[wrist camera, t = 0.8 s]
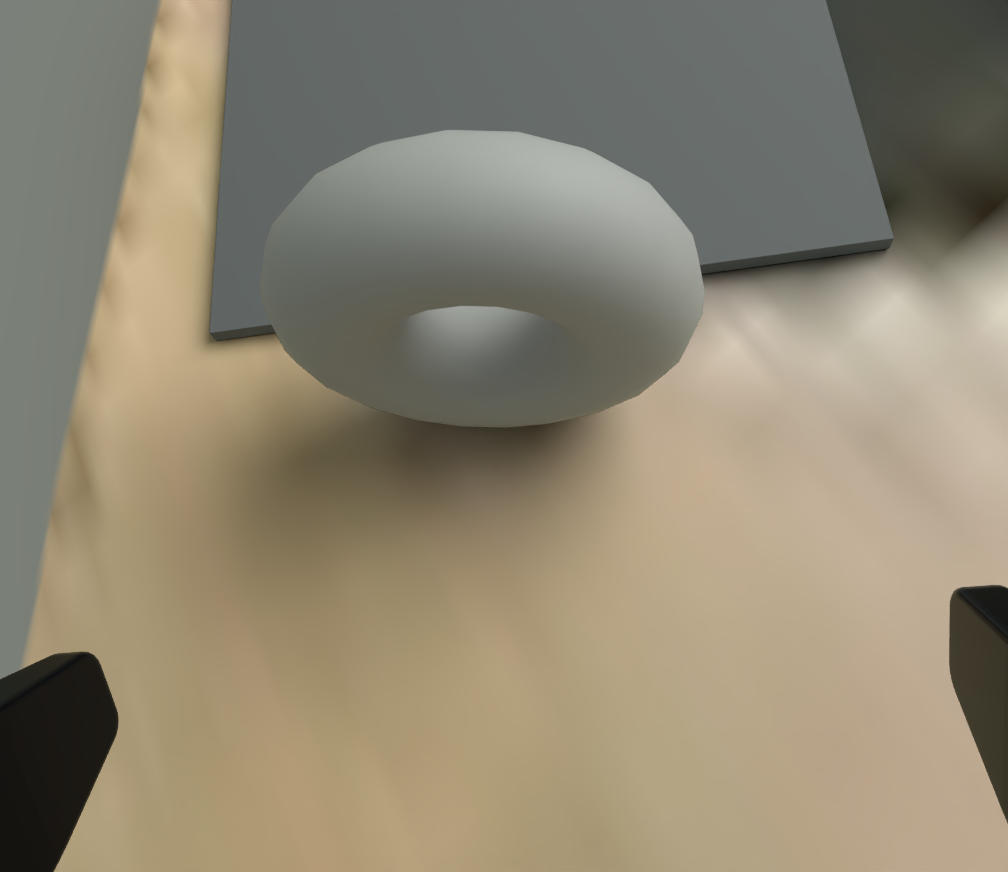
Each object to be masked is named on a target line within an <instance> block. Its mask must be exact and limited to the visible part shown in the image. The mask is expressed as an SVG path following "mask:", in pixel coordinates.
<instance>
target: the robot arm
mask: <svg viewBox="0 0 1008 872" xmlns="http://www.w3.org/2000/svg"><path fill="white" fill-rule="evenodd" d="M949 666H950V674H951V679H952V683H953V687H954V689H955V692H956V695H957V697H958V700H959V702H960V705H961V707H962V710H963V712H964V715H965V718H966V720H967V723H968V725H969V728H970V730H971V733H972V735H973V738H974V740H975V743H976V745H977V748H978V750H979V753H980V755H981V758H982V761H983V763H984V766H985V768H986V771H987V773H988V776H989V778H990V781H991V783H992V786H993V788H994V791H995V793H996V796H997V798H998V801H999V803H1000V806H1001V809H1002V811H1003V813H1004V816H1005V818H1006V820H1007V823H1008V588H1006V587H1004V586H1001V585H987V586H974V587H962V588H958V589H956V590H955V591H954V592H953V594H952V596H951V600H950V637H949ZM117 730H118V712H117V709H116V706H115V703H114V700H113V698H112V695H111V692H110V689H109V687H108V684H107V681H106V678H105V676H104V673H103V670H102V667H101V665H100V662H99V660H98V659H97V658H96V657H95V656H94V655H93V654H91V653H89V652H71V653H59V654H54V655H51V656H49V657H47V658H45V659H42V660H40V661H38V662H36V663H34V664H32V665H30V666H28V667H25V668H23V669H21V670H19V671H17V672H15V673H13V674H10V675H8V676H6V677H4V678H2V679H0V872H54V870H55V868H56V866H57V864H58V863H59V861H60V858H61V856H62V854H63V852H64V850H65V848H66V846H67V844H68V842H69V840H70V837H71V835H72V833H73V831H74V828H75V826H76V824H77V822H78V819H79V817H80V815H81V813H82V811H83V808H84V806H85V804H86V802H87V799H88V797H89V795H90V793H91V791H92V788H93V786H94V784H95V782H96V779H97V777H98V775H99V773H100V771H101V768H102V766H103V764H104V762H105V759H106V757H107V755H108V753H109V750H110V748H111V746H112V744H113V742H114V739H115V737H116V734H117Z"/></svg>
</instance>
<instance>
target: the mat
mask: <svg viewBox="0 0 1008 872" xmlns="http://www.w3.org/2000/svg"><path fill="white" fill-rule="evenodd" d="M444 130H473V131H509V132H521V133H525V134H529V135H533V136H537V137H541V138H545V139H549V140H553V141H557V142H561V143H565V144H569V145H573V146H577V147H581V148H585V149H587V150H589V151H591V152H594V153H596V154H597V155H599V156H601V157H603V158H605V159H607V160H608V161H610V162H612V163H614V164H616V165H617V166H619V167H621V168H623V169H625V170H627V171H628V172H630V173H632V174H634V175H636V176H638V177H639V178H641V179H643V180H645V181H647V182H649V183H650V184H651V185H652V187H653V188H654V189H655V190H656V191H657V192H658V193H659V195H660V196H661V197H662V198H663V199H664V200H665V202H666V203H667V204H668V205H669V206H670V207H671V208H672V210H673V211H674V212H675V213H676V214H677V215H678V217H679V218H680V219H681V220H682V221H683V223H684V224H685V225H686V227H687V228H688V229H689V231H690V232H691V233H692V235H693V238H694V242H695V246H696V250H697V254H698V258H699V264H700V269H701V274H706V273H713V272H720V271H728V270H735V269H742V268H749V267H757V266H764V265H771V264H779V263H786V262H793V261H800V260H808V259H815V258H822V257H830V256H837V255H844V254H851V253H859V252H866V251H873V250H881V249H888V248H889V247H890V245H891V243H892V241H893V239H894V237H893V234H892V230H891V227H890V223H889V220H888V216H887V213H886V209H885V206H884V202H883V199H882V195H881V192H880V188H879V185H878V181H877V178H876V174H875V171H874V167H873V164H872V160H871V157H870V153H869V150H868V146H867V143H866V139H865V136H864V132H863V129H862V125H861V122H860V118H859V115H858V111H857V108H856V105H855V101H854V98H853V94H852V91H851V87H850V84H849V80H848V77H847V73H846V70H845V66H844V63H843V59H842V56H841V52H840V49H839V45H838V42H837V38H836V35H835V31H834V28H833V24H832V21H831V17H830V14H829V10H828V7H827V3H826V0H232V11H231V25H230V40H229V55H228V69H227V84H226V98H225V113H224V128H223V142H222V157H221V171H220V186H219V201H218V215H217V230H216V244H215V259H214V274H213V288H212V303H211V317H210V332H209V333H210V334H211V335H212V336H213V337H214V338H215V339H216V340H217V341H218V340H225V339H232V338H240V337H247V336H254V335H262V334H269V333H276V332H275V330H274V328H273V327H272V325H271V323H270V321H269V318H268V316H267V314H266V311H265V309H264V307H263V304H262V302H261V284H260V279H261V272H262V265H263V258H264V251H265V244H266V241H267V238H268V235H269V232H270V229H271V226H272V223H273V222H274V221H275V220H276V219H277V218H278V217H279V215H280V214H281V213H282V212H283V211H284V210H285V209H286V207H287V206H288V205H289V204H290V203H291V202H292V200H293V199H294V198H295V197H296V196H297V195H298V194H299V192H300V191H301V190H302V189H303V188H304V187H305V186H306V184H307V183H308V182H309V181H310V180H311V179H312V178H313V177H314V176H315V174H317V173H319V172H321V171H323V170H325V169H327V168H329V167H331V166H333V165H334V164H336V163H338V162H340V161H342V160H344V159H346V158H348V157H350V156H352V155H354V154H356V153H358V152H360V151H362V150H364V149H366V148H368V147H370V146H373V145H376V144H379V143H383V142H388V141H393V140H398V139H403V138H408V137H413V136H418V135H423V134H428V133H433V132H439V131H444Z"/></svg>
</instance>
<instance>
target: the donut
mask: <svg viewBox="0 0 1008 872" xmlns="http://www.w3.org/2000/svg"><path fill="white" fill-rule="evenodd" d="M260 284H261V302H262V304H263V307H264V309H265V311H266V314H267V316H268V318H269V321H270V323H271V325H272V327H273V328H274V330H275V332H276V334H277V336H278V338H279V340H280V342H281V344H282V346H283V348H284V350H285V351H286V352H287V353H288V354H289V355H290V356H291V357H292V358H293V359H294V360H295V362H296V363H297V364H298V365H300V366H301V367H302V368H303V369H305V370H306V371H307V372H308V373H310V374H311V375H312V376H313V377H315V378H316V379H317V380H318V381H319V382H321V383H322V384H323V385H324V386H326V387H327V388H330V389H332V390H334V391H336V392H338V393H340V394H342V395H345V396H347V397H349V398H351V399H353V400H355V401H358V402H360V403H362V404H364V405H367V406H369V407H372V408H374V409H378V410H381V411H385V412H388V413H392V414H396V415H399V416H403V417H407V418H410V419H414V420H419V421H426V422H433V423H440V424H447V425H454V426H466V427H503V428H506V427H518V426H529V425H540V424H550V423H555V422H559V421H564V420H568V419H573V418H577V417H581V416H586V415H590V414H593V413H597V412H600V411H603V410H605V409H607V408H610V407H612V406H614V405H617V404H619V403H622V402H624V401H626V400H629V399H631V398H633V397H636V396H638V395H639V394H641V393H642V392H643V391H644V390H646V389H647V388H648V387H649V386H651V385H652V384H653V383H654V382H656V381H657V380H658V379H659V378H661V377H662V376H663V375H665V374H666V373H667V372H668V371H669V370H670V369H671V368H672V367H673V366H675V365H676V364H677V363H678V362H679V361H680V359H681V357H682V355H683V353H684V351H685V349H686V347H687V345H688V343H689V341H690V339H691V337H692V335H693V332H694V330H695V328H696V326H697V324H698V322H699V320H700V318H701V315H702V313H703V304H704V296H705V291H704V285H703V280H702V274H701V269H700V264H699V258H698V254H697V250H696V246H695V242H694V238H693V235H692V233H691V232H690V231H689V229H688V228H687V227H686V225H685V224H684V223H683V221H682V220H681V219H680V218H679V217H678V215H677V214H676V213H675V212H674V211H673V210H672V208H671V207H670V206H669V205H668V204H667V203H666V202H665V200H664V199H663V198H662V197H661V196H660V195H659V193H658V192H657V191H656V190H655V189H654V188H653V187H652V185H651V184H650V183H649V182H647V181H645V180H643V179H641V178H639V177H638V176H636V175H634V174H632V173H630V172H628V171H627V170H625V169H623V168H621V167H619V166H617V165H616V164H614V163H612V162H610V161H608V160H607V159H605V158H603V157H601V156H599V155H597V154H596V153H594V152H591V151H589V150H587V149H585V148H581V147H577V146H573V145H569V144H565V143H561V142H557V141H553V140H549V139H545V138H541V137H537V136H533V135H529V134H525V133H521V132H509V131H473V130H444V131H439V132H433V133H428V134H423V135H418V136H413V137H408V138H403V139H398V140H393V141H388V142H383V143H379V144H376V145H373V146H370V147H368V148H366V149H364V150H362V151H360V152H358V153H356V154H354V155H352V156H350V157H348V158H346V159H344V160H342V161H340V162H338V163H336V164H334V165H333V166H331V167H329V168H327V169H325V170H323V171H321V172H319V173H317V174H315V176H314V177H313V178H312V179H311V180H310V181H309V182H308V183H307V184H306V186H305V187H304V188H303V189H302V190H301V191H300V192H299V194H298V195H297V196H296V197H295V198H294V199H293V200H292V202H291V203H290V204H289V205H288V206H287V207H286V209H285V210H284V211H283V212H282V213H281V214H280V215H279V217H278V218H277V219H276V220H275V221H274V222H273V223H272V226H271V229H270V232H269V235H268V238H267V241H266V244H265V251H264V258H263V265H262V272H261V279H260Z"/></svg>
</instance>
